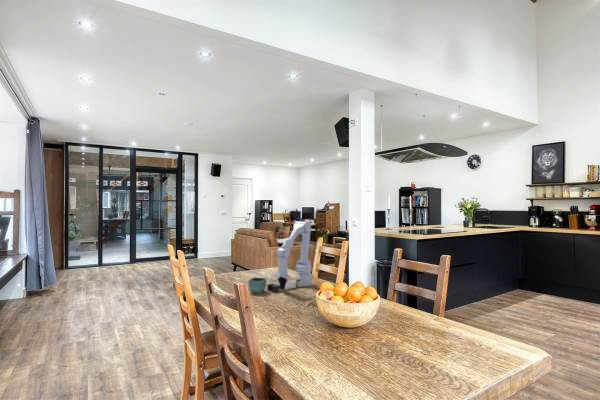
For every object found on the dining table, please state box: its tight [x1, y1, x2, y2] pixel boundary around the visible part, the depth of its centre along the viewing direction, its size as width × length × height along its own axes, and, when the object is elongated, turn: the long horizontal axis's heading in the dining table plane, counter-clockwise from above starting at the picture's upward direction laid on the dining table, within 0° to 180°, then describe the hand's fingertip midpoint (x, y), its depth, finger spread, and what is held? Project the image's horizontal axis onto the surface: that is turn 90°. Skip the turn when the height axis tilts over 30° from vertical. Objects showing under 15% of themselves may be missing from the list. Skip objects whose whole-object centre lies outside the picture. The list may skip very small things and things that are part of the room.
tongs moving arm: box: [271, 281, 297, 293], centre depth 213 cm, size 18×2×4 cm, turn 132°
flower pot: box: [248, 277, 267, 294], centre depth 208 cm, size 9×9×9 cm
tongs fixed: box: [266, 278, 304, 292], centre depth 217 cm, size 24×5×5 cm, turn 124°
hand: (282, 289), depth 210 cm, fingers closed
